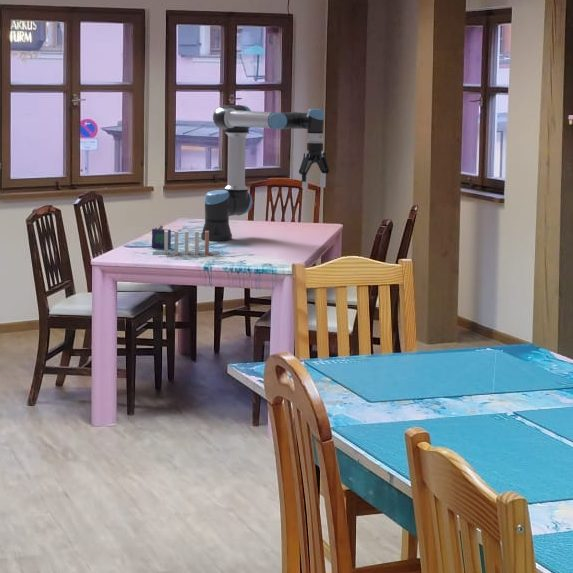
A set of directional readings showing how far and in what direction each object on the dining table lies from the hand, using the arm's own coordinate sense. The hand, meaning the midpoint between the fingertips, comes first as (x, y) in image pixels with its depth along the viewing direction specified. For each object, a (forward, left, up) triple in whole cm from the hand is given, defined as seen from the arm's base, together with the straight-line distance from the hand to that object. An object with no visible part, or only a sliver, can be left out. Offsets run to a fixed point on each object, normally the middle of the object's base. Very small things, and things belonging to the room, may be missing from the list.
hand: (313, 188), depth 558 cm
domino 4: (-21, -57, -28) cm, 67 cm away
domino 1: (-31, -67, -28) cm, 78 cm away
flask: (-44, -56, -28) cm, 77 cm away
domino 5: (-18, -54, -28) cm, 63 cm away
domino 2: (-27, -64, -28) cm, 74 cm away
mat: (-24, -60, -28) cm, 71 cm away
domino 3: (-24, -60, -28) cm, 71 cm away
